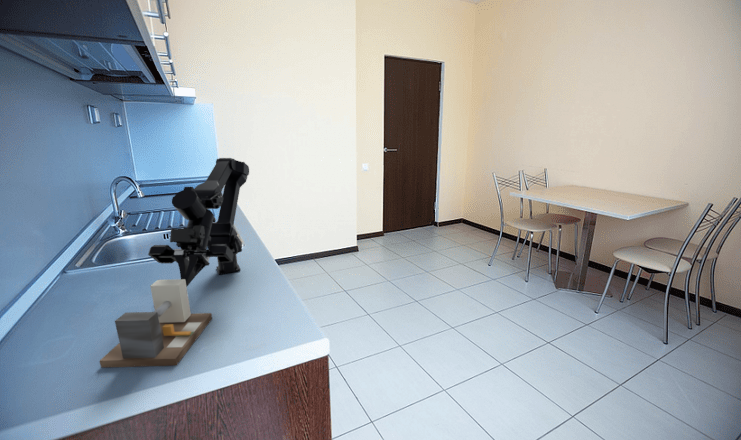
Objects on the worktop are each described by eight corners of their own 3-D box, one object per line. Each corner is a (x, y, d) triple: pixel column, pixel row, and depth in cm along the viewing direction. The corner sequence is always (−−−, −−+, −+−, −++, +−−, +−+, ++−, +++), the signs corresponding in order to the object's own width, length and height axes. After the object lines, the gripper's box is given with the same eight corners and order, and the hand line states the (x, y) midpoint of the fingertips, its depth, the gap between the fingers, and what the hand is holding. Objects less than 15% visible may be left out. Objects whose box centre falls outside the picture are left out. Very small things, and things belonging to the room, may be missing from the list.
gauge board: (151, 320, 80) (144, 283, 78) (212, 318, 81) (207, 282, 78) (101, 367, 64) (90, 323, 62) (176, 365, 65) (168, 321, 62)
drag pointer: (166, 333, 71) (164, 324, 71) (191, 332, 72) (190, 323, 71) (163, 336, 70) (162, 327, 70) (189, 335, 71) (187, 326, 70)
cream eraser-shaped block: (164, 315, 78) (158, 279, 76) (190, 314, 78) (185, 279, 76) (146, 333, 71) (138, 294, 69) (175, 332, 72) (168, 293, 69)
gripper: (145, 213, 82) (124, 274, 74) (224, 213, 83) (210, 273, 75) (168, 235, 92) (151, 291, 84) (238, 234, 92) (227, 289, 84)
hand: (184, 286), depth 81 cm, fingers closed
